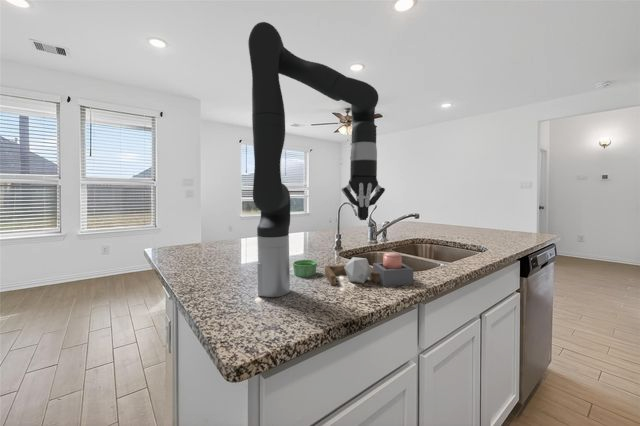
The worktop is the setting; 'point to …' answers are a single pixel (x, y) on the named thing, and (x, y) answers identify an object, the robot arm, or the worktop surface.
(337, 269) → the walnut bay
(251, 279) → the worktop surface
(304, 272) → the ramekin
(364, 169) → the robot arm
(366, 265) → the die
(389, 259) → the popper button
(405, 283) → the box
